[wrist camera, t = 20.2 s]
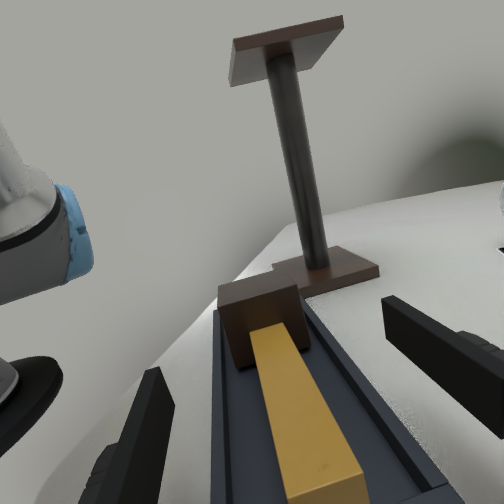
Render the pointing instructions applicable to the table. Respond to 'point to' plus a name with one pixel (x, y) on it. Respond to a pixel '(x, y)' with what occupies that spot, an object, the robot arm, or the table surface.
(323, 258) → the pedestal stand
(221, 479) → the tray
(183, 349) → the table surface
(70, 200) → the robot arm
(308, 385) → the mallet
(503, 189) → the mug
